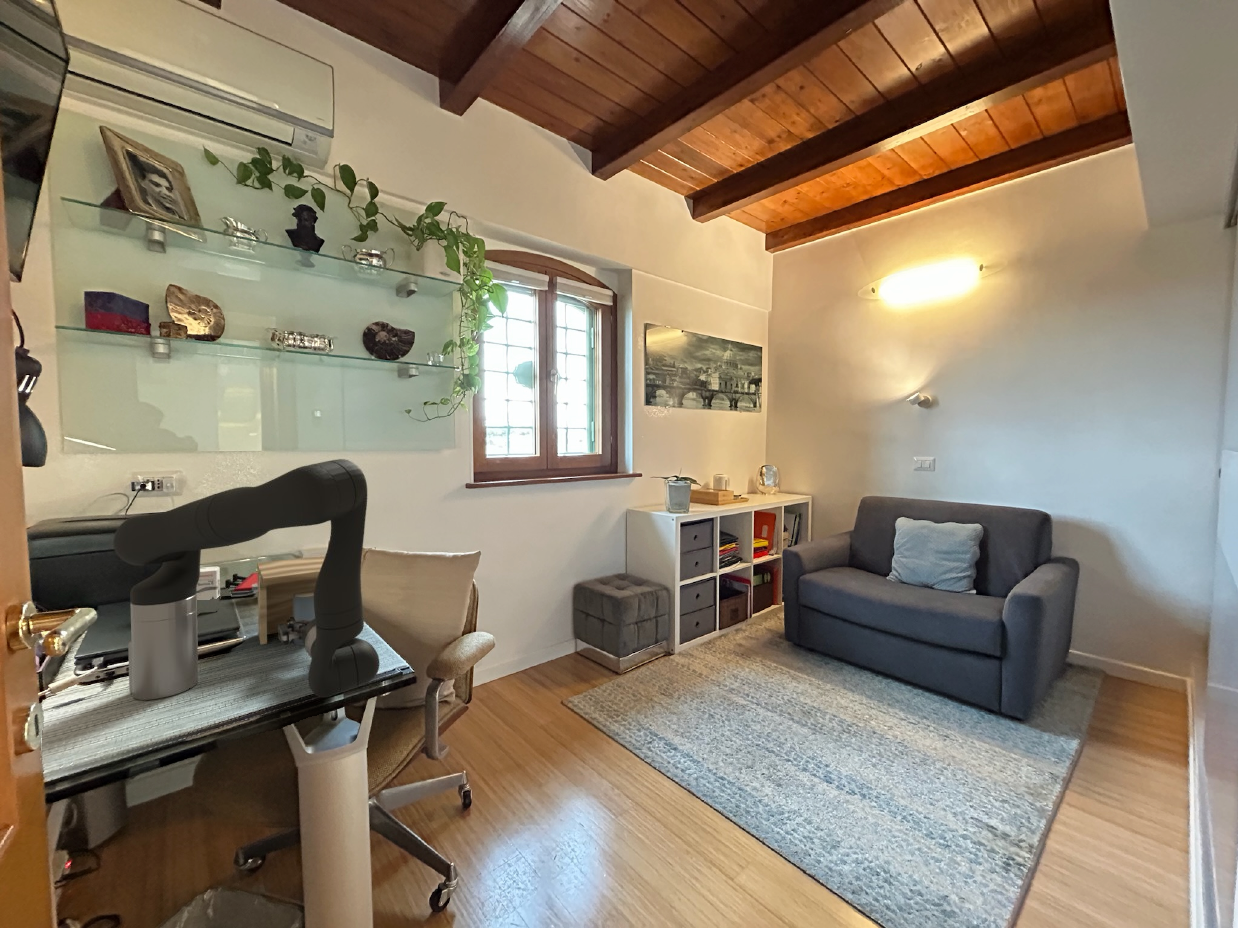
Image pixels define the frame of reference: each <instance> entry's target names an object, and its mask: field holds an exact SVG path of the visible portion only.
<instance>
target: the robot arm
mask: <svg viewBox="0 0 1238 928" xmlns="http://www.w3.org/2000/svg"><path fill="white" fill-rule="evenodd" d="M367 506H368V485H367V479H366V476H365V475H364V471H363V470H362V469H361V468H360V467H359V465H358V464H357V463H355V462H353V461H351V460H349V459H345V458H339V459H338V458H337V459H332V460H326V461H321V462H317V463H312V464H309V465H308V464H306V465H302V466H299V467H297V468H295V469H294V468H293V469H291V470H289V471H287V472H285V473H284V474H281V475H280V476H277V477H275V478H273V479H271V480H269V481H266V482H265V483H262V484H259V485H256V486H239V487H233V488H230V489H227V490H226V489H225V490H223V491H219V492H216V493H213V494H210V495H209V496H205V497H203V498H200V499H197V500H194V501H193V500H192V501H190V502H188V503H184V504H182V505H181V506H177V507H175V508H173V509H170V510H166V511H162V512H155V513H146V514H145V513H144V514H139V515H134V516H131V517H129V518H128V519H127V518H126V520H124V521H123V522H122V523H121V524H120V525H119V526H118V527H117V529H116V531H115V532H114V536H113V541H112V542H113V543H112V544H113V549H114V552H115V553H116V555H117V556H118V557H119V558H120V560H122V561H123V562H124V563H125V562H126V563H127V564H129V565H132V566H138V567H139V566H140V567H143V566H150V565H157V564H162V565H161V567H160V568H159V569H158V570H157V571H156V572H155V573H154V574H152V575H151V576H149V577H147V578H146V579H144V580H142V581H140V582H138V583H137V584H135V585H133V587H132V588H131V590H130V593H129V594H130V596H129V597H130V600H129V601H130V627H131V628H130V633H131V634H130V635H131V640H130V641H128V644H127V645H128V680H129V681H128V687H129V688H128V692H129V693H130V694H132V697H133V699H135V700H140V701H146V700H147V701H148V700H149V701H150V700H156V699H163V698H167V697H168V698H169V697H171V696H175V695H178V694H180V693H183V692H186V691H188V690H190V689H192V688H193V687H195V686H196V685H197V684H198V682H199V667H198V666H199V665H198V664H199V654H198V648H199V647H198V644H199V643H198V642H199V641H198V614H197V594H196V593H197V584H198V581H199V577H200V568H201V556H202V555H201V554H202V550H210V549H216V548H217V549H218V548H224V547H229V546H234V545H237V544H241V543H246V542H250V541H253V540H256V539H258V538H260V537H262V536H264V535H266V534H267V533H269V532H270V531H275V530H278V529H280V530H281V529H286V528H297V527H298V528H299V527H309V526H317V525H321V524H324V523H327V522H330V537H329V543H328V547H327V550H326V553H325V555H326V556H325V559H324V561H323V564H322V567H321V569H320V572H319V575H318V578H317V581H316V585H315V589H314V612H315V619H313V620H311V621H308V620H300V621H298V622H297V621H295V618H294V617H290V619H289V620H287V621H286V625H285V624H279V625H278V632H277V633H278V634H277V638H278V640H279V641H280V642H281V644H282V645H288V644H290V642H292V640H293V639H294V638H298V639H299V640H302V641H303V644H304V645H303V647H304V648H305V652H306V653H307V654H308V656H309V658H311V661H310V665H309V668H308V679H307V680H308V685H309V688H310V690H311V692H312V693H313V694H314V695H315V696H317V697H319V698H329V697H332V696H334V695H337V694H340V693H343V692H346V691H349V690H352V689H353V690H354V689H355V688H358V687H361V686H364V685H367V684H368V683H370V682H371V681H372V680H374V679H375V677H376V676H377V674H378V672H379V669H380V658H379V654H378V652H377V650H376V649H375V647H374V646H373V645H372V644H371V643H370V642H369V641H367V640H365V639H362V638H359V637H358V636H359V635H360V634H361V633H362V632H363V630H364V626H365V625H364V623H365V621H364V619H365V617H364V609H363V608H364V607H363V597H362V580H361V579H362V578H361V577H362V576H361V574H362V557H363V548H364V540H365V539H364V537H365V528H366V527H365V526H366V516H367ZM304 625H305V626H304ZM189 688H190V689H189Z"/></svg>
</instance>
